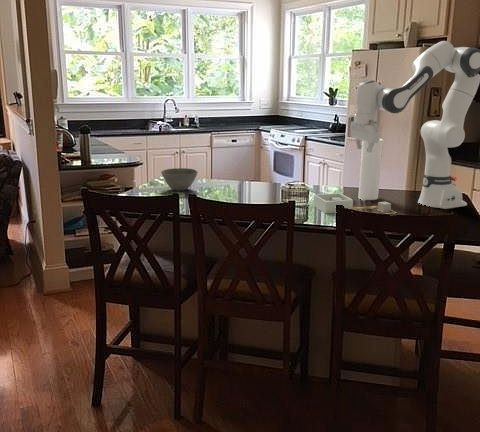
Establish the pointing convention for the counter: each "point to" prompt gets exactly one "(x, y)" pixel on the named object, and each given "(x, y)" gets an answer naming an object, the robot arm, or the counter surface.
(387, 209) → the stone
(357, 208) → the gravel tray
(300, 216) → the counter surface
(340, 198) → the stone
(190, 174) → the bowl
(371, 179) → the cylinder container
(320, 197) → the tub
